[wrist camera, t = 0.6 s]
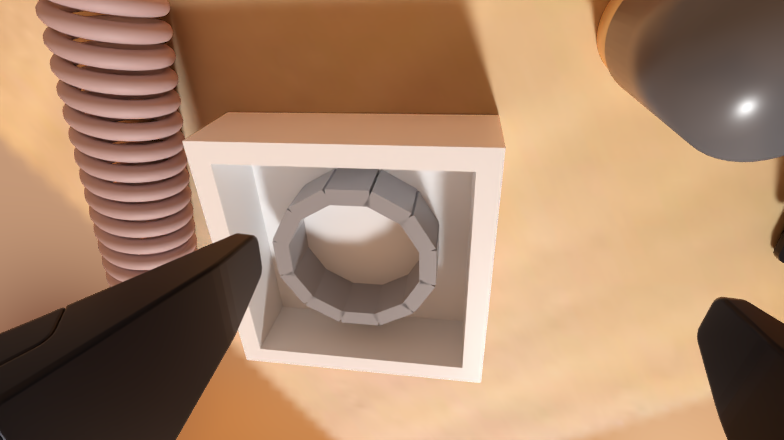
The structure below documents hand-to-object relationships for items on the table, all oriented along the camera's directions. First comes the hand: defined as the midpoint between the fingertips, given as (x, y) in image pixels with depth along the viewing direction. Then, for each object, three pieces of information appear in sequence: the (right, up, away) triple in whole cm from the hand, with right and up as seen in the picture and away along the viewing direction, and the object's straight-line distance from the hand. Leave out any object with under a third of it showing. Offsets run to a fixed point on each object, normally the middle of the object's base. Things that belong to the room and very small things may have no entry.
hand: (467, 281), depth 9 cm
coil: (-14, +5, +15) cm, 21 cm away
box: (-3, +1, +15) cm, 15 cm away
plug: (+9, +9, +8) cm, 15 cm away
